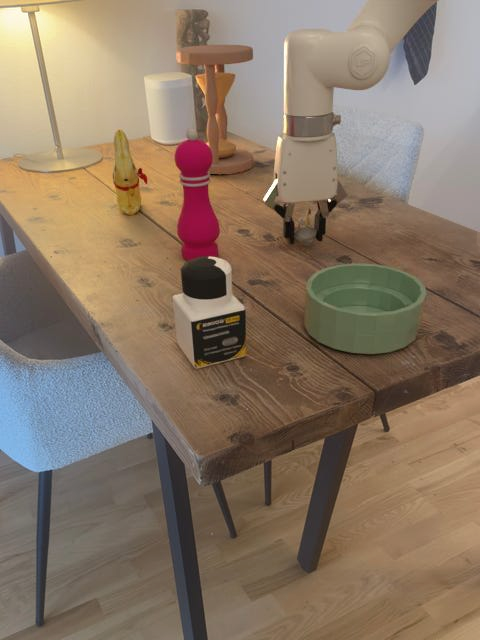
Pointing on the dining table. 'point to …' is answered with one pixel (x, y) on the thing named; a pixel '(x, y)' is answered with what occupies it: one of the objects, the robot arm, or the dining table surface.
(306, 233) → the figurine
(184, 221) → the pepper mill
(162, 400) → the dining table surface
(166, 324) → the dining table surface
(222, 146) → the hourglass
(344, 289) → the bowl
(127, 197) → the chocolate bunny
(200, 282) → the medicine bottle
